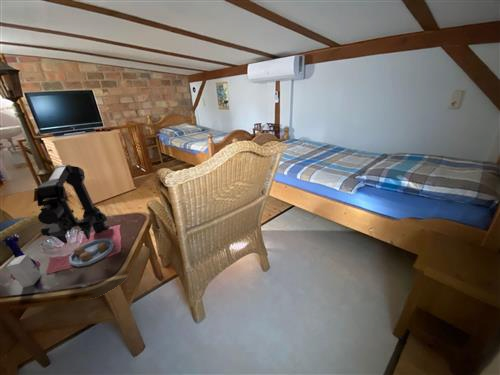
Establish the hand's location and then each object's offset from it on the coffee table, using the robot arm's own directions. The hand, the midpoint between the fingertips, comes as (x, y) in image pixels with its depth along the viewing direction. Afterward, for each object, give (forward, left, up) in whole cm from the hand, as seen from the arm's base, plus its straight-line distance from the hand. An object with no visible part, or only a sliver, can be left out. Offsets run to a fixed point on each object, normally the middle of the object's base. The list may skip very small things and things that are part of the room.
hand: (77, 241), depth 94 cm
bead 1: (-5, -5, -11) cm, 14 cm away
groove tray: (-5, 0, -12) cm, 14 cm away
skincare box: (+6, -20, -13) cm, 24 cm away
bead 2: (0, 0, -11) cm, 11 cm away
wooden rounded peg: (-5, +5, -11) cm, 14 cm away
